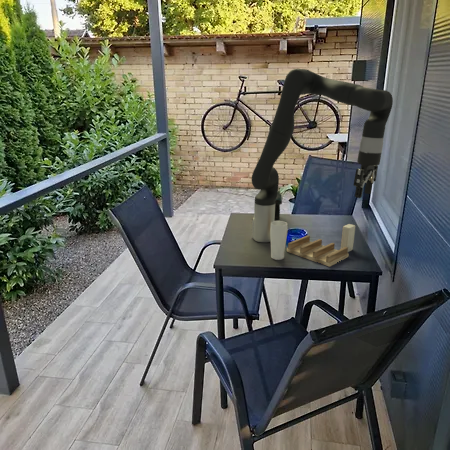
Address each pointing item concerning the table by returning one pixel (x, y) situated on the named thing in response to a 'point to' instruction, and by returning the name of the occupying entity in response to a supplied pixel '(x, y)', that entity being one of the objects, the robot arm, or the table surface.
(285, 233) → the drinking glass
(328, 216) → the table surface
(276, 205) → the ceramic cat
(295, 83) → the robot arm
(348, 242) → the cream rectangular block
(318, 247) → the ridged wooden tray
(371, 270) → the table surface
